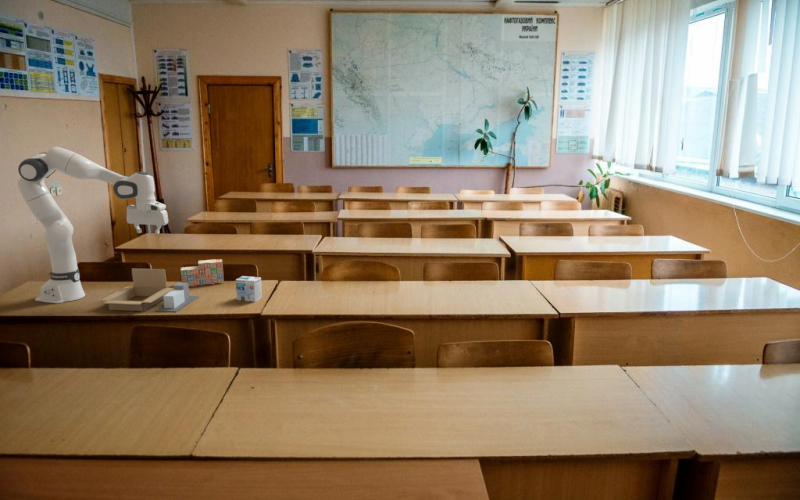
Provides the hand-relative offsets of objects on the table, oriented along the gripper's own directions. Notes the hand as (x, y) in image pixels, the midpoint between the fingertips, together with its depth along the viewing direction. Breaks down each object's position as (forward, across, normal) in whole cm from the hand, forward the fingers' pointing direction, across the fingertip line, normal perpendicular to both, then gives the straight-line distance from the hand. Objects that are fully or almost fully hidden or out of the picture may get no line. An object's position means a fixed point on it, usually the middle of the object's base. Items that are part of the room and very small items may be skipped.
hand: (148, 233), depth 292 cm
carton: (+33, -1, -12) cm, 35 cm away
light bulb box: (+31, +51, +1) cm, 60 cm away
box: (+31, +19, -11) cm, 38 cm away
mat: (+32, +19, -11) cm, 39 cm away
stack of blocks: (+32, +16, +23) cm, 42 cm away
